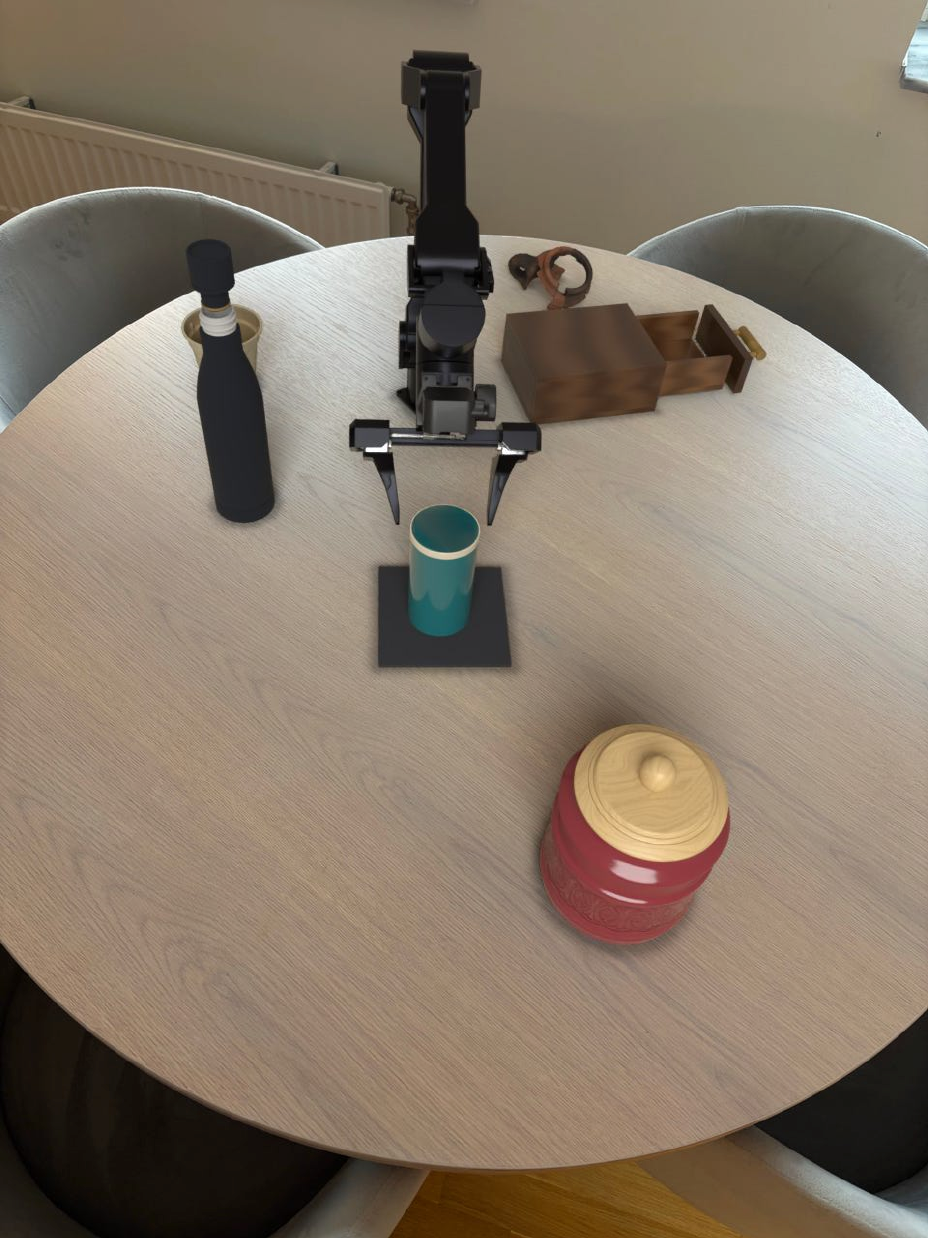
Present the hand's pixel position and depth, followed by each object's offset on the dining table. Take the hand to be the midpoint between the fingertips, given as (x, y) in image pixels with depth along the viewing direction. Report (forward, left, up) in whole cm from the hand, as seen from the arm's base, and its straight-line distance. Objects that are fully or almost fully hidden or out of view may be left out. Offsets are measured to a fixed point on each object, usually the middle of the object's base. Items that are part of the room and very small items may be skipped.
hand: (443, 525), depth 95 cm
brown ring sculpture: (-37, +43, -7) cm, 58 cm away
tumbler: (+5, -3, -7) cm, 9 cm away
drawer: (-13, +48, -6) cm, 50 cm away
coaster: (+5, -3, -7) cm, 9 cm away
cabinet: (-18, +34, -7) cm, 39 cm away
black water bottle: (-20, -13, -7) cm, 25 cm away
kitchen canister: (+36, -7, -7) cm, 37 cm away
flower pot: (-40, -5, -7) cm, 41 cm away
